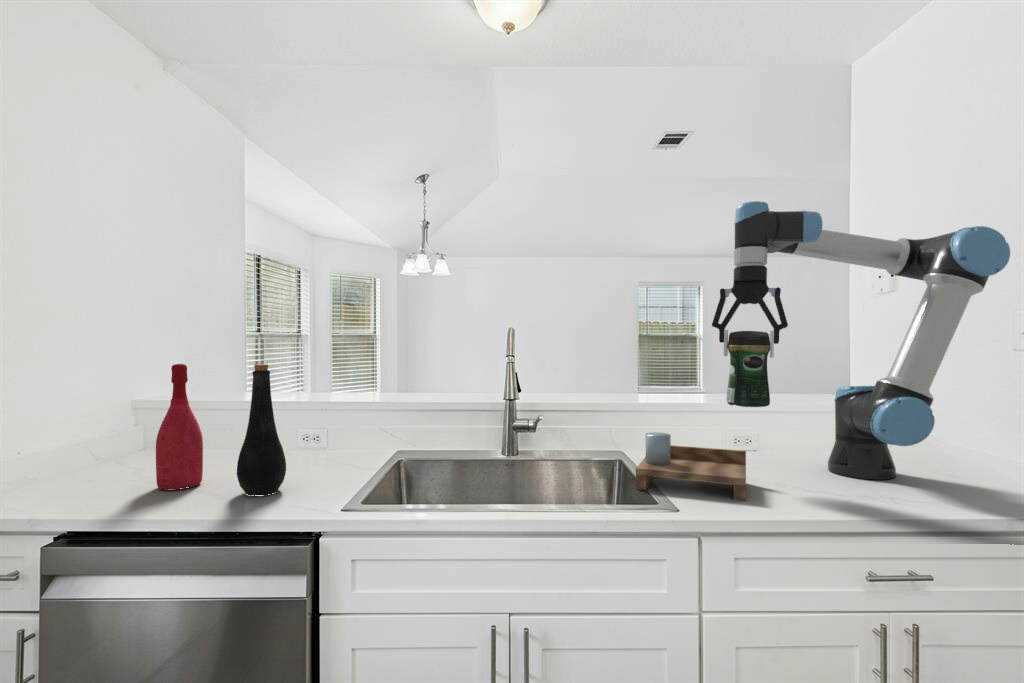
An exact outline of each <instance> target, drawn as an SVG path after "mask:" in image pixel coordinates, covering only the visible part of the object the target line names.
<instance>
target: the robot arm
mask: <svg viewBox="0 0 1024 683" xmlns="http://www.w3.org/2000/svg"><path fill="white" fill-rule="evenodd" d="M734 216H735V217H734V223H733V224H734V250H733V251H734V252H733V265H734V266H735V267H734V268H733V283H732V287H731V288H723V287H722V288H720V290H719V301H718V304H717V306H716V310H715V313H714V317H713V320H712V322H711V326H712V327H713V328H716V329H717V330H718V331H719V333H718V335H719V337H718V341H719V343H723V357H728V353H729V351H728V341H729V329H726V328H727V326H728V325H729V323H730V321H731V320H732V318H733V317H734V314H735V313H736V311H737V309H739V307H740V306H741V304H742V305H749V304H751V305H757V304H758V305H759V307H760V309H761V310H762V311H763V313H764V315H765V317H766V318H767V320H768V322H769V324H770V325H771V327H772V328H773V330H770V334H769V338H770V351H769V358H774V351H775V350H774V348H775V347H774V346H775V344H777V345H778V344H779V343H780V331H781V330H783V329H786V328H788V320H787V317H786V313H785V310H784V306H783V303H782V299H781V287H778V286H777V287H769V285H768V268H767V267H766V265H767V264H768V254H773V253H782V254H789V255H795V256H801V257H808V258H814V259H821V260H826V261H831V262H838V263H844V264H849V265H855V266H861V267H867V268H875V269H881V270H885V271H886V272H887V274H889V275H891V276H898V277H902V278H903V277H904V278H908V279H914V280H919V281H923V282H925V284H926V287H925V288H926V289H925V291H924V293H923V295H922V298H921V300H920V302H919V303H918V306H917V308H916V312H915V313H914V315H913V318H912V319H911V322H910V325H909V326H908V329H907V331H906V334H905V335H904V338H903V340H902V343H901V345H900V347H899V349H898V350H897V354H896V356H895V358H894V360H893V363H892V365H891V368H890V370H889V371H888V374H887V375H886V377H883V378H880V379H877V381H876V382H875V385H847V386H840V387H838V388H836V391H835V397H834V410H835V412H834V413H835V414H834V415H835V416H834V418H835V419H834V421H835V423H834V424H835V425H834V426H835V427H834V428H835V437H834V438H835V441H834V444H833V447H832V450H831V453H830V456H829V457H828V460H827V470H828V472H831V473H834V474H837V475H840V476H845V477H850V478H855V479H865V480H875V481H876V480H881V481H882V480H884V481H885V480H891V479H895V478H896V477H897V476H896V475H897V470H896V469H897V468H896V465H895V463H894V460H893V457H892V455H891V451H890V449H889V446H888V445H891V446H898V447H908V446H909V447H910V446H915V445H917V444H920V443H921V442H923V441H924V440H926V439H927V438H928V437H929V436H930V435H931V433H932V431H933V430H934V427H935V421H936V420H935V416H934V414H933V413H934V412H933V409H932V408H931V406H932V405H933V404H932V403H933V402H934V399H935V398H934V396H933V395H932V393H931V391H930V388H931V387H932V383H933V382H934V380H935V378H936V375H937V373H938V370H939V368H940V366H941V365H942V361H943V359H944V357H945V355H946V353H947V351H948V348H949V347H950V344H951V342H952V340H953V338H954V336H955V333H956V331H957V328H958V326H959V324H960V322H961V320H962V317H963V315H964V312H965V310H966V308H967V307H968V304H969V302H970V300H971V298H972V296H974V295H978V294H979V293H981V292H983V290H984V289H985V286H986V284H987V282H988V280H989V278H990V276H993V275H997V274H998V273H999V272H1001V271H1002V270H1003V269H1005V268H1006V266H1007V265H1008V263H1009V261H1010V258H1011V248H1010V245H1009V242H1007V241H1006V237H1005V236H1004V235H1003V234H1002V233H1001V232H1000V231H998V230H996V229H994V228H992V227H990V226H989V227H988V226H984V225H977V226H971V227H963V228H960V229H958V230H955V231H953V232H949V233H945V234H941V235H936V236H934V237H929V238H922V239H921V238H920V239H918V238H917V239H912V238H910V239H909V238H903V237H901V238H898V239H897V240H890V239H883V238H879V237H871V236H866V235H860V234H854V233H853V234H852V233H847V232H846V233H845V232H839V231H834V230H833V231H832V230H828V229H827V230H826V229H823V218H822V215H821V214H820V213H819V212H818V211H810V210H801V211H800V210H798V211H774V210H773V211H772V210H770V208H769V204H768V203H767V202H765V201H758V200H757V201H756V200H755V201H748V202H743V203H740V204H739V205H737V207H736V208H735V215H734ZM768 293H769V294H770V296H771V297H773V299H774V303H775V306H776V309H777V314H778V316H779V320H780V324H778V322H777V321H776V318H775V317H774V315H773V314H772V312H771V310H770V309H769V306H767V304H766V302H765V300H764V298H765V296H767V294H768ZM730 294H732V295H733V296H734V297H735V301H734V302H733V304H732V306H731V308H729V311H728V312H727V314H726V315H725V317H724V319H723V320H722V322H721V323H719V322H720V319H721V316H722V313H723V309H724V307H725V303H726V300H727V298H728V297H730Z"/></svg>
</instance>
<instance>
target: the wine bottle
mask: <svg viewBox="0 0 1024 683" xmlns="http://www.w3.org/2000/svg"><path fill="white" fill-rule="evenodd" d="M170 370H171V377H170V378H171V380H170V382H171V383H172V393H171V394H172V396H171V399H170V405H169V406H168V407H169V408H168V409H167V412H166V414H165V416H164V418H163V420H162V422H161V423H160V424H161V425H160V427H159V429H158V432H157V435H156V441H155V473H156V474H155V475H156V487H157V488H158V489H159V488H160V489H159V490H162V489H167V490H166V491H169V490H168V489H180V488H186V487H191V486H194V487H196V486H195V485H197V486H198V484H199V485H200V484H201V483H202V481H203V470H204V442H203V440H204V439H203V434H202V433H203V432H202V430H201V427H200V425H199V423H198V421H197V419H196V417H195V415H194V413H193V410H192V408H191V406H190V402H189V399H188V395H187V388H186V387H187V382H188V381H189V379H188V366H187V365H186V364H184V363H176V364H173V365H172V366H171V369H170ZM191 488H192V487H191Z"/></svg>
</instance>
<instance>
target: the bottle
mask: <svg viewBox="0 0 1024 683" xmlns="http://www.w3.org/2000/svg"><path fill="white" fill-rule="evenodd" d="M253 366H254V370H253V371H252V372H251V374H252V384H251V385H252V386H251V387H252V388H251V400H250V409H249V416H248V422H247V427H246V428H247V429H246V432H245V436H244V440H243V444H242V446H241V449H240V451H239V455H238V458H237V459H238V460H237V465H236V477H237V480H238V484H239V486H240V488H241V490H242V491H244V494H245V493H246V494H248V495H254V496H255V495H268V494H272V493H275V492H277V491H278V492H279V489H280V488H281V485H282V484H283V483H284V480H285V476H286V473H287V461H286V455H285V452H284V449H283V446H282V443H281V441H280V439H279V435H278V432H277V426H276V422H275V415H274V408H273V402H272V388H271V377H270V376H271V375H270V374H271V370H268V369H269V364H268V363H267V364H263V363H262V364H254V365H253ZM278 492H277V493H278ZM275 494H276V493H275ZM272 495H273V494H272ZM268 496H269V495H268Z"/></svg>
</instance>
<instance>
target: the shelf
mask: <svg viewBox="0 0 1024 683" xmlns="http://www.w3.org/2000/svg"><path fill="white" fill-rule="evenodd" d="M746 452H747V450H738V449H727V448H726V449H723V448H712V447H697V446H685V445H684V446H683V445H671V464H669V465H651V464H647V463H646V456H645V457H643V459H642V460H641V461H640V462H639V464H638V465H637V466H636V467H635V490H638V491H639V490H641V491H647V489H648V488H649V487H650V485H651V483H652V482H653V481H654V479H655V477H656V478H657V477H658V478H665V479H666V478H668V479H676V480H677V479H679V480H689V481H699V482H707V483H709V482H710V483H717V484H718V483H719V484H729V485H733V500H734V501H738V502H739V501H741V502H746V501H747V500H746V499H747V498H746V495H747V490H746V489H747V486H746V485H747V482H746V481H747V469H746V468H747V467H746V466H747V456H746V454H747V453H746Z"/></svg>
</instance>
